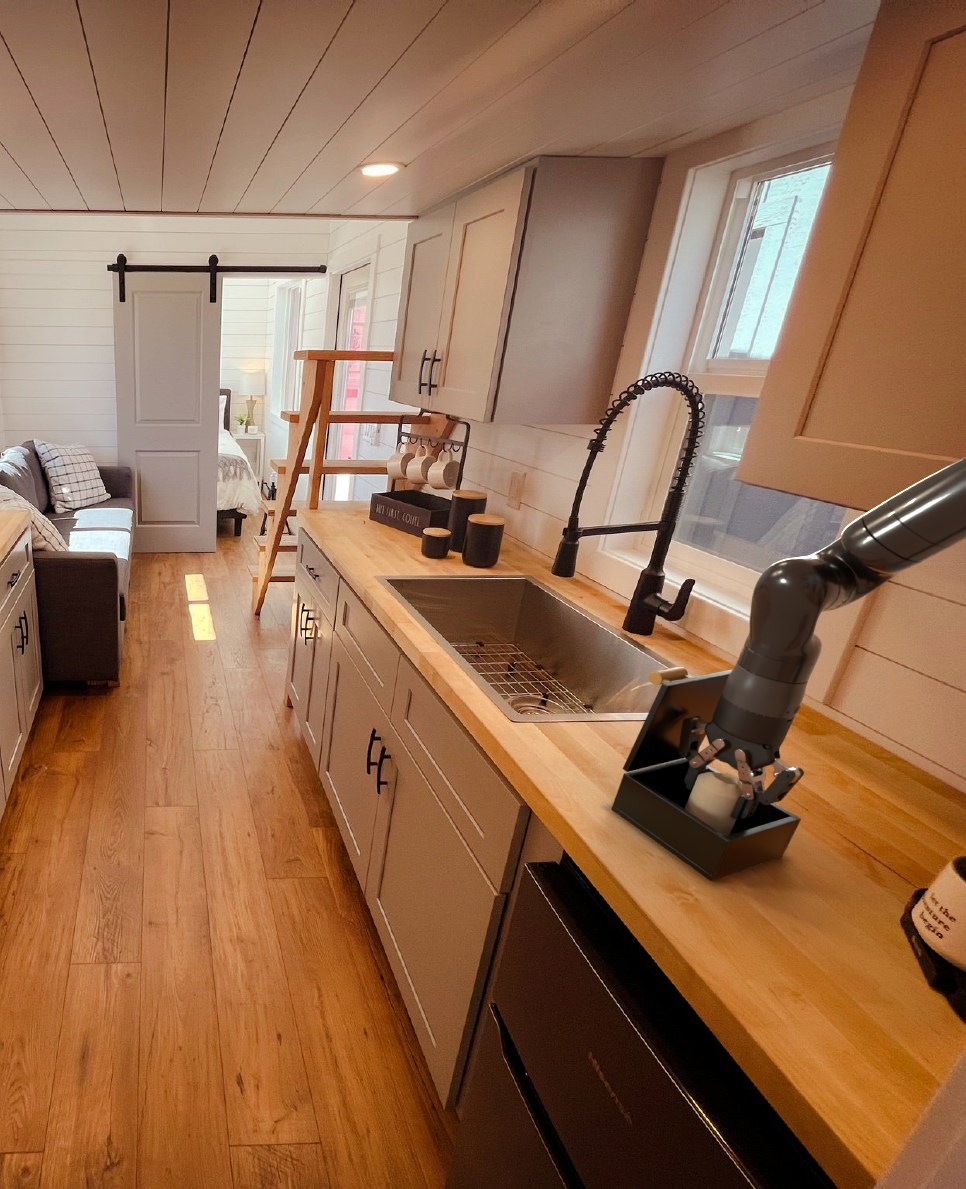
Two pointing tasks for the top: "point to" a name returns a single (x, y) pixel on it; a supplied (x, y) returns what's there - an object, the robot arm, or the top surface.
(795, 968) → the top surface
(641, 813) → the bread bin
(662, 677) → the bin lid
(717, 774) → the candle
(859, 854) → the top surface
